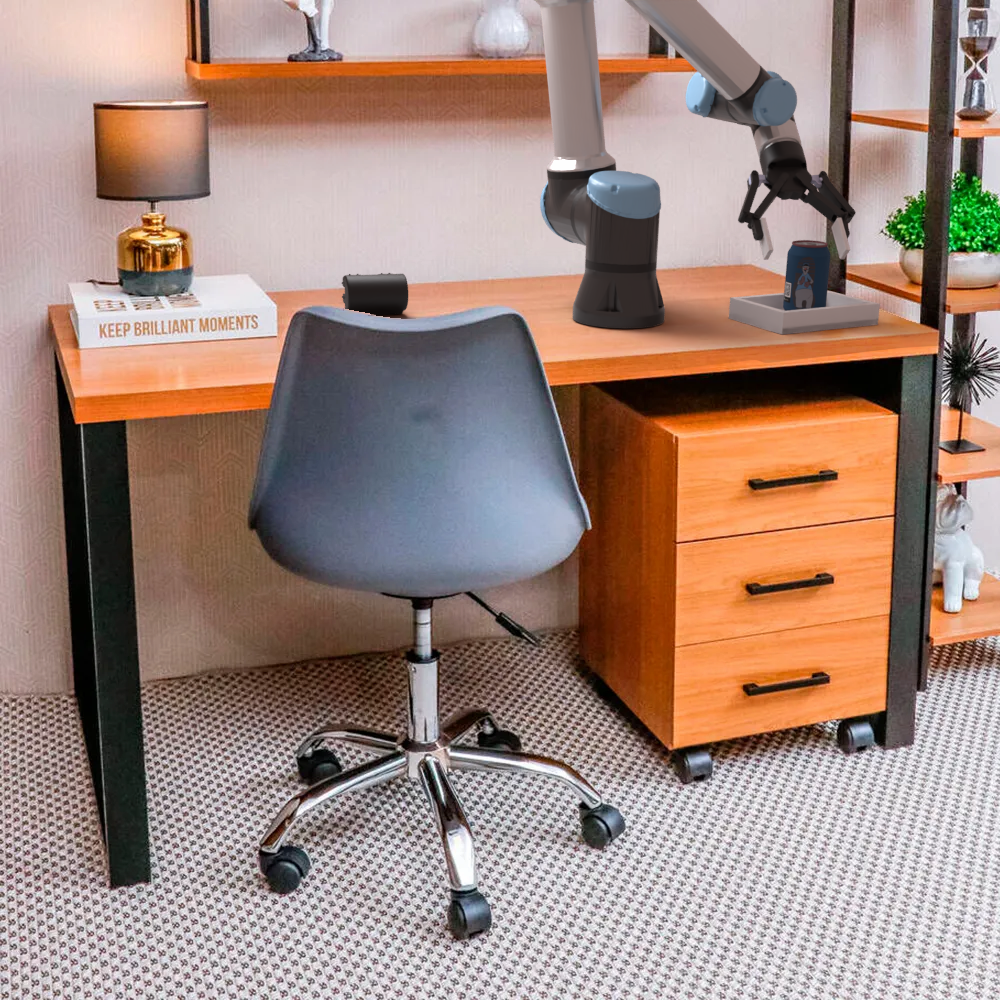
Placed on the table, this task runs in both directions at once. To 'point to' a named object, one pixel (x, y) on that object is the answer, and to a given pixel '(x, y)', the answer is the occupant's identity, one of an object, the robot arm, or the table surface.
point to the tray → (803, 313)
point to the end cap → (376, 293)
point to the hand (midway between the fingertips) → (807, 254)
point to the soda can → (806, 275)
